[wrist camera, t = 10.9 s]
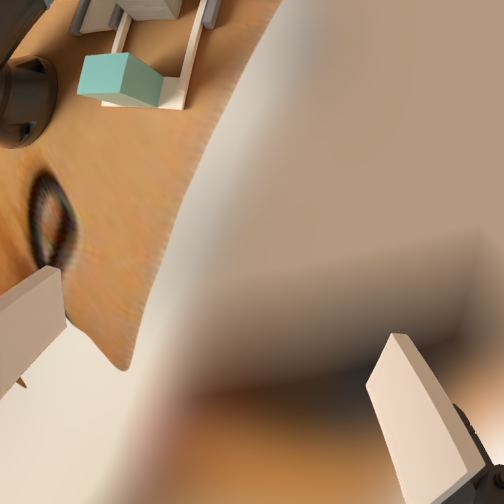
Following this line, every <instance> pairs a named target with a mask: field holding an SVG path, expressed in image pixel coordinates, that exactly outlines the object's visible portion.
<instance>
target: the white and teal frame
mask: <svg viewBox="0 0 504 504" xmlns="http://www.w3.org/2000/svg"><path fill="white" fill-rule="evenodd" d="M208 1H209V0H201V1H200V4H199V8H198V11H197V14H196V18H195V21H194V24H193V28H192V31H191V35H190V39H189V43H188V46H187V50H186V54H185V58H184V62H183V66H182V71H181V75H180V78H178V77H163V76H162V75H161V74H159V73H158V72H156V71H155V70H154V69H152V68H151V67H149V66H148V65H147V64H145V63H144V62H142V61H141V60H139V59H138V58H137V57H135V56H134V55H132V54H131V53H129V52H128V53H122V50H123V46H124V43H125V39H126V36H127V33H128V30H129V26H130V23H131V20H132V17H131V16H130V15H129V14H128V13H127V12H125V11H124V13H123V15H122V18H121V21H120V24H119V27H118V31H117V34H116V37H115V40H114V44H113V47H112V51H111V54H100V55H90V56H85V60H84V64H83V68H82V72H81V76H80V80H79V85H78V89H77V94H79V95H83V96H87V97H91V98H94V99H98V100H102V105H101V106H111V107H144V108H161V109H174V110H183V109H184V104H185V99H186V94H187V90H188V85H189V81H190V76H191V72H192V67H193V63H194V59H195V55H196V51H197V47H198V43H199V39H200V36H201V32H202V28H203V25H204V24H203V22H202V21H203V17H204V14H205V10H206V7H207V4H208Z"/></svg>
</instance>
